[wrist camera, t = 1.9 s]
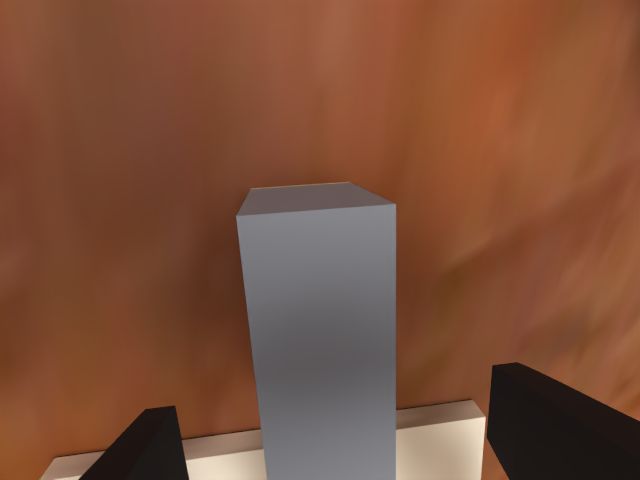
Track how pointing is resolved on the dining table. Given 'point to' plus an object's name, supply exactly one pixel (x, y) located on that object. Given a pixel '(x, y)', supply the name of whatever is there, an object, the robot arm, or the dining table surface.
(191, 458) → the pine board
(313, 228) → the block
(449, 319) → the dining table surface
